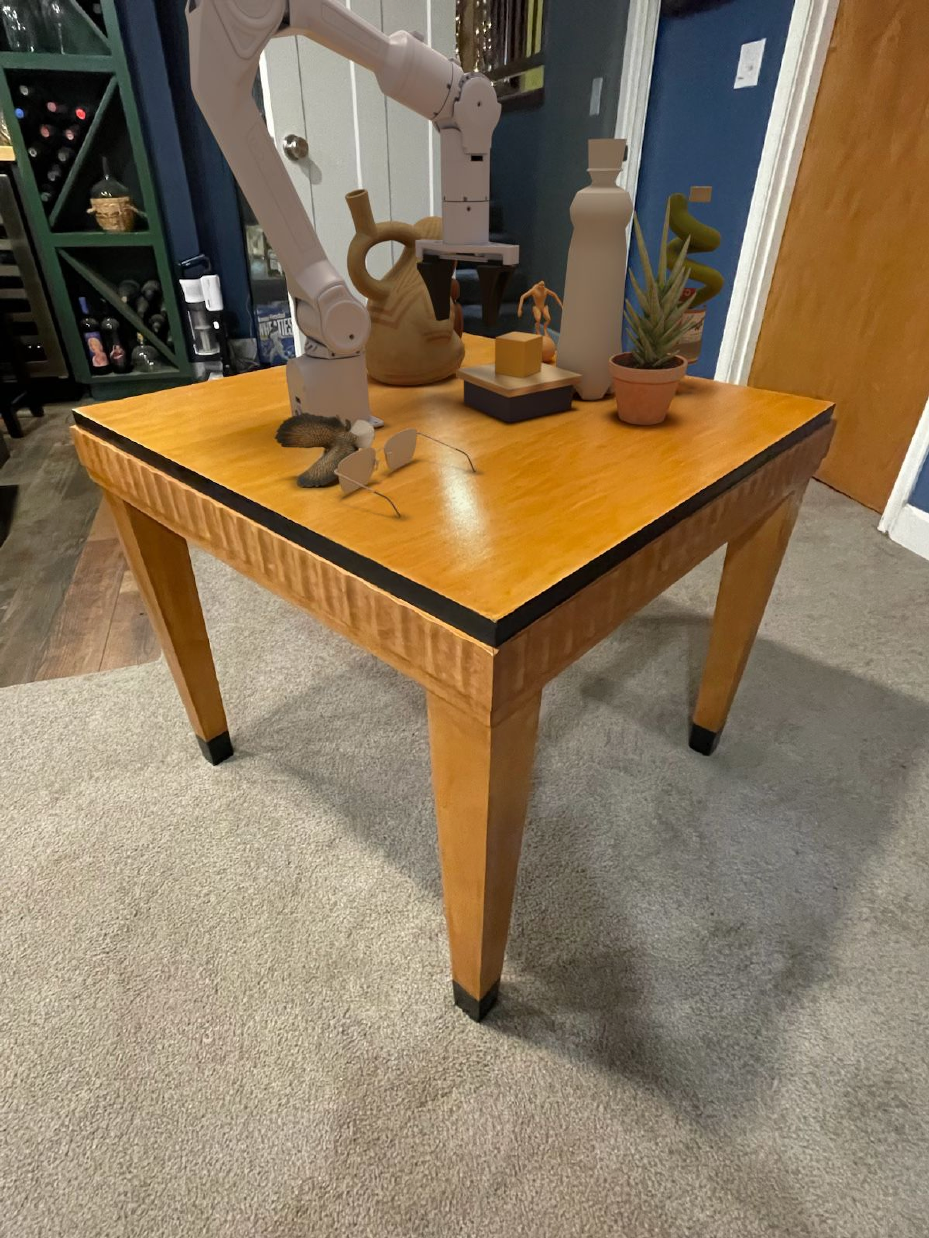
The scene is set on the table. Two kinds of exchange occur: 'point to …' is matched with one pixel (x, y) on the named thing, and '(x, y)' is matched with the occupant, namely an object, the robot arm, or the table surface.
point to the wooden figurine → (457, 308)
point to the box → (518, 391)
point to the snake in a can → (692, 267)
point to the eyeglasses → (362, 462)
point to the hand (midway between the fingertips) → (465, 323)
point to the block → (518, 354)
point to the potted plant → (652, 340)
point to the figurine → (539, 298)
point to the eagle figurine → (324, 442)
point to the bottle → (596, 273)
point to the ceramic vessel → (401, 303)
